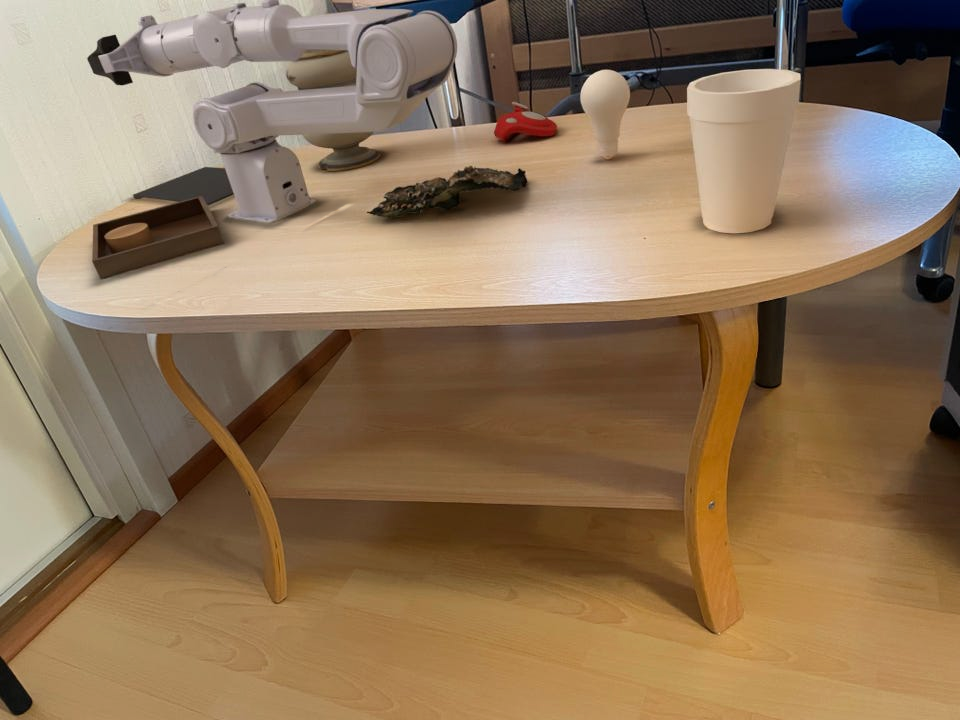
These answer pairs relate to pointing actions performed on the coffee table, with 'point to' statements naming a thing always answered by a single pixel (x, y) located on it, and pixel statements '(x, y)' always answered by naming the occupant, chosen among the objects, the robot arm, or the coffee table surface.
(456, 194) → the tree bark
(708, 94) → the foam cup
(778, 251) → the coffee table surface
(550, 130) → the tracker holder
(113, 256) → the tray
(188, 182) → the mat
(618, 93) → the lightbulb
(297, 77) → the apothecary jar
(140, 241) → the wooden puck
